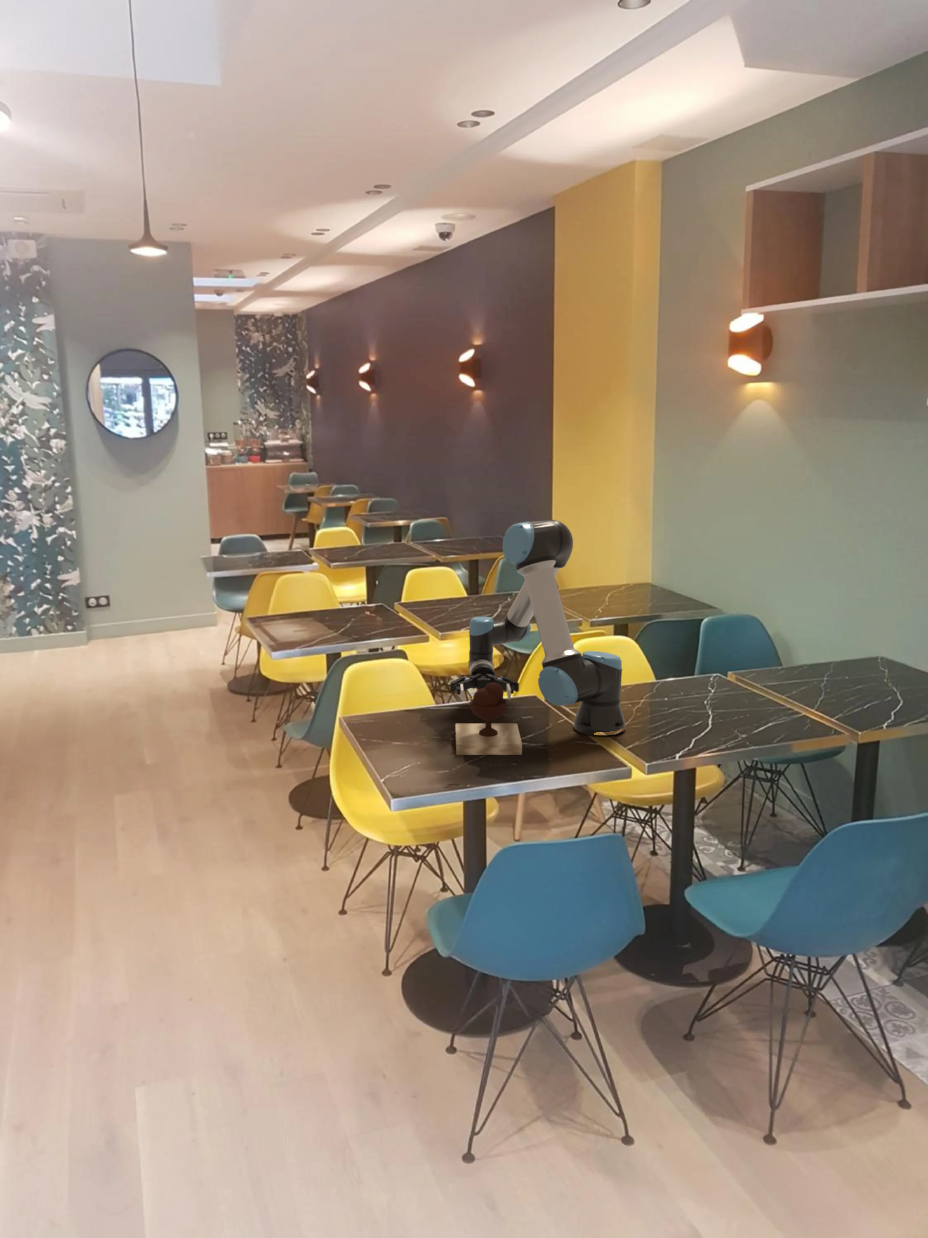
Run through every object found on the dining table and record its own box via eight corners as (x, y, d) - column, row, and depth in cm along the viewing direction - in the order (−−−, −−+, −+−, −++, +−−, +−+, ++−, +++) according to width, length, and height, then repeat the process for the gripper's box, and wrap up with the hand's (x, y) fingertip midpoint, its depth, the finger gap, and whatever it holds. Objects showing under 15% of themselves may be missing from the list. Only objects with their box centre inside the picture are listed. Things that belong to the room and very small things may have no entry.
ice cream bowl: (493, 725, 286) (493, 675, 283) (514, 736, 277) (515, 684, 274) (462, 731, 281) (462, 680, 277) (483, 742, 271) (483, 690, 268)
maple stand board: (516, 733, 288) (516, 723, 288) (521, 754, 271) (522, 744, 270) (455, 733, 288) (455, 723, 287) (456, 754, 270) (456, 744, 270)
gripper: (522, 686, 304) (528, 707, 283) (441, 686, 303) (442, 707, 282) (523, 662, 302) (529, 682, 281) (441, 663, 301) (442, 682, 280)
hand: (485, 694), depth 282 cm, fingers open, 13 cm apart
